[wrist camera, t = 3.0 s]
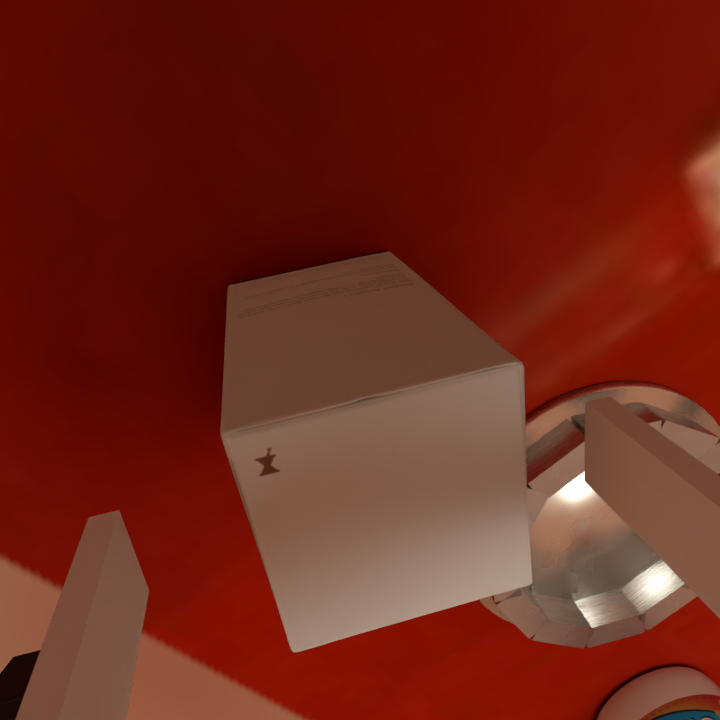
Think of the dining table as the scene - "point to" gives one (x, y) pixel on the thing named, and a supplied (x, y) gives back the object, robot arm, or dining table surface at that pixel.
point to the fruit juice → (665, 697)
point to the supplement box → (373, 447)
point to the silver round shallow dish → (595, 525)
